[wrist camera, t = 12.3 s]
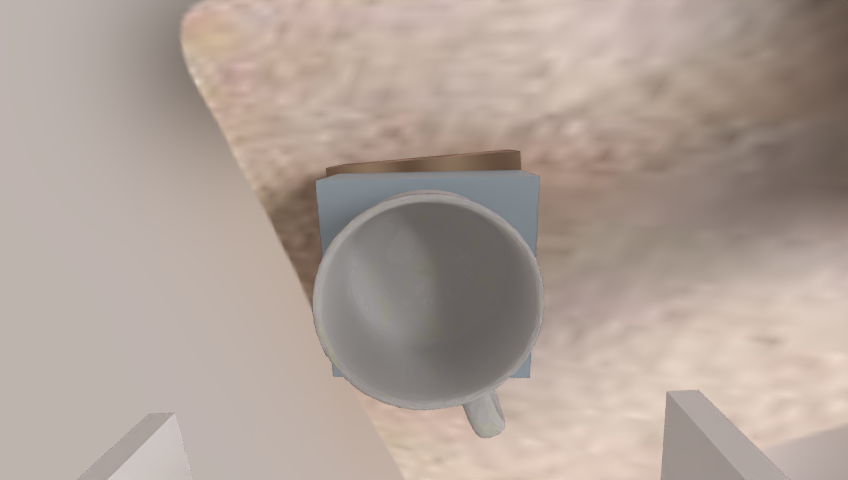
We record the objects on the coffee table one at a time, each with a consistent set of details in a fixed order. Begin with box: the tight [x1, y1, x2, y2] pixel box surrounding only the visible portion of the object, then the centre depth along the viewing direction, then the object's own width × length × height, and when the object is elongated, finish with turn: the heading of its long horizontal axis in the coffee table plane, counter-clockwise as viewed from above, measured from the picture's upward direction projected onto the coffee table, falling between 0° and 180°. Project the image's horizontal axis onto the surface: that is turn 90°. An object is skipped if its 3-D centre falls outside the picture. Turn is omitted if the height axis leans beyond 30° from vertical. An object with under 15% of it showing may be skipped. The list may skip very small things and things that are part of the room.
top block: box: [315, 170, 539, 378], centre depth 29 cm, size 14×14×6 cm
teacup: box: [312, 190, 544, 438], centre depth 22 cm, size 14×11×8 cm
